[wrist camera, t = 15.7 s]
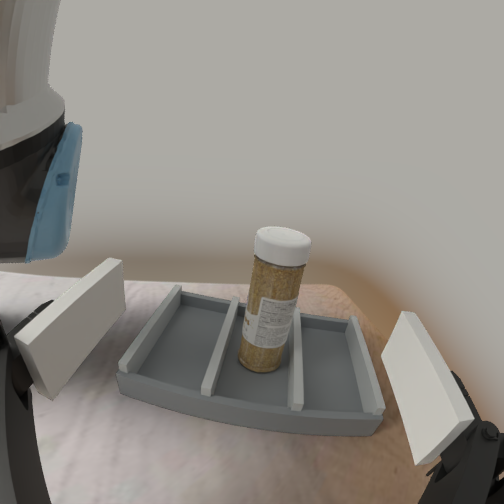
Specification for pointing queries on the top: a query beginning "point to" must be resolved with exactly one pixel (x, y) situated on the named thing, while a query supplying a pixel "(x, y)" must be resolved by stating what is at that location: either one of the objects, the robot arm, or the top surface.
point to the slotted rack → (250, 382)
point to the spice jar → (272, 296)
